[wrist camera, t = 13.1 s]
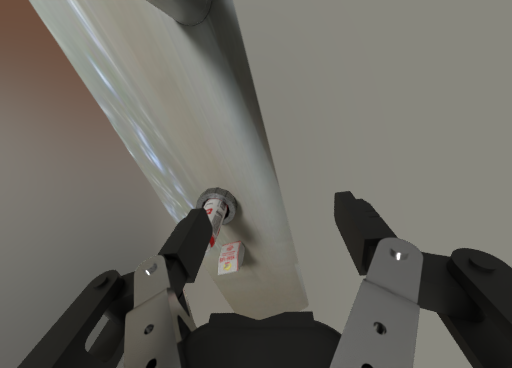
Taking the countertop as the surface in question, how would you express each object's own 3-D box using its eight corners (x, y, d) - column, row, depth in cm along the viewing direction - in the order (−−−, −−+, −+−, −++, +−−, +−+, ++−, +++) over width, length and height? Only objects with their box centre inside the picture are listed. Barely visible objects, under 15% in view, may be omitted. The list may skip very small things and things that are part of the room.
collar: (192, 201, 54) (188, 207, 51) (217, 181, 50) (214, 186, 47) (219, 223, 58) (216, 230, 55) (244, 206, 54) (242, 212, 51)
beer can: (233, 205, 53) (219, 248, 39) (217, 214, 56) (199, 258, 42) (218, 190, 51) (198, 230, 37) (203, 200, 53) (179, 242, 39)
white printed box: (245, 248, 62) (240, 274, 54) (227, 252, 64) (220, 278, 55) (240, 240, 61) (235, 267, 52) (223, 245, 62) (215, 271, 54)
